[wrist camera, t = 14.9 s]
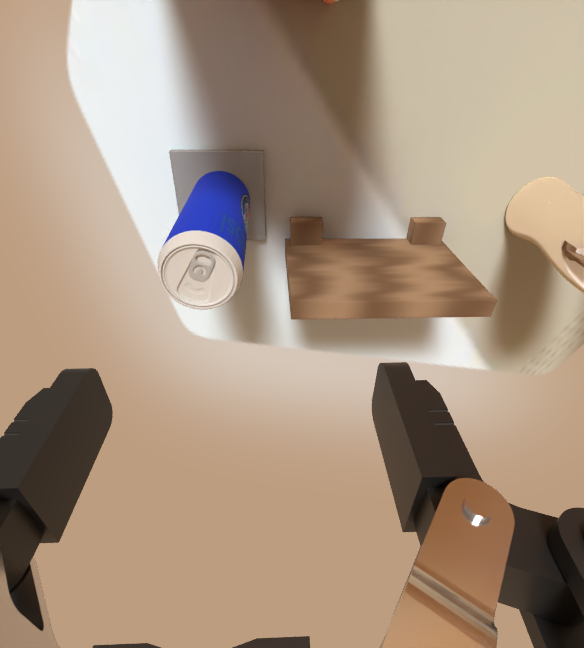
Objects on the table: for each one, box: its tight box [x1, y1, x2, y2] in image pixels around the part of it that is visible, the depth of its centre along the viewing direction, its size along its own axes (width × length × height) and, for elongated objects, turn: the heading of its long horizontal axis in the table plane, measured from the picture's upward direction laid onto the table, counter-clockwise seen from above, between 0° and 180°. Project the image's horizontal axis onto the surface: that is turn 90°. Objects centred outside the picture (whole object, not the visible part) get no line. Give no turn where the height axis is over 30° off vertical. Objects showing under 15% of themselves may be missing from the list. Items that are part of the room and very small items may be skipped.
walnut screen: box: [285, 217, 497, 319], centre depth 34 cm, size 16×6×12 cm, turn 89°
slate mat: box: [169, 150, 265, 240], centre depth 35 cm, size 8×8×1 cm
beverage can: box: [158, 171, 250, 309], centre depth 29 cm, size 5×5×15 cm
